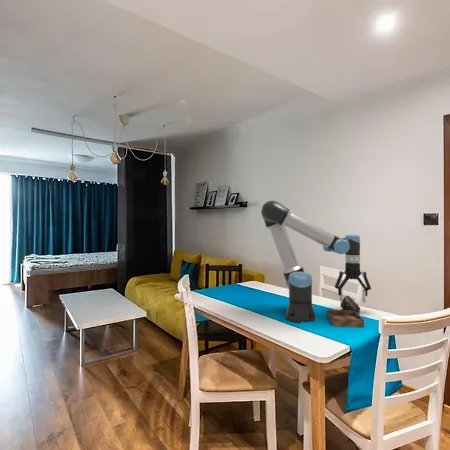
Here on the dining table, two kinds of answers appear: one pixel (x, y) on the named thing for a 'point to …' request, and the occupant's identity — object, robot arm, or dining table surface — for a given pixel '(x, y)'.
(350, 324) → the walnut tray
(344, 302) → the fossil
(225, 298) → the dining table surface
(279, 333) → the dining table surface
